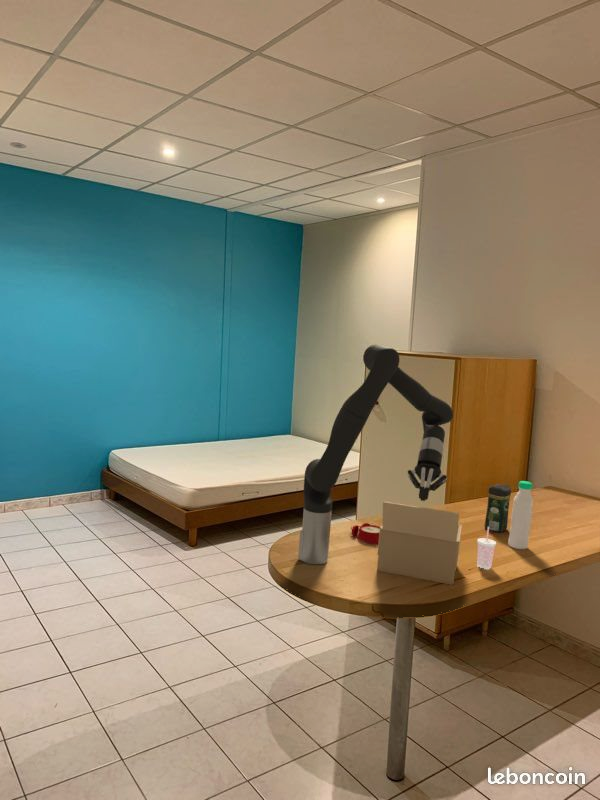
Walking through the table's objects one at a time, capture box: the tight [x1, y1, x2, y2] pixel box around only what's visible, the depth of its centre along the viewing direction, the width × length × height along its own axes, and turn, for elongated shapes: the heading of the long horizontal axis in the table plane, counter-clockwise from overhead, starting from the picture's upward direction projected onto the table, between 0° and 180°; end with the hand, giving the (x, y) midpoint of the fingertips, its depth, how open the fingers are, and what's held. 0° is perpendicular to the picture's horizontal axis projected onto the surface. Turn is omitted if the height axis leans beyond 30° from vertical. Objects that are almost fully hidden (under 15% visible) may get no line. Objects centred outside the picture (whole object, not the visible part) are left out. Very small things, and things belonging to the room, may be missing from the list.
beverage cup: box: [476, 527, 497, 570], centre depth 207 cm, size 6×6×14 cm
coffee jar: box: [484, 483, 512, 533], centre depth 249 cm, size 10×8×19 cm
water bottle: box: [507, 480, 534, 550], centre depth 229 cm, size 7×7×25 cm
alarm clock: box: [350, 522, 381, 545], centre depth 227 cm, size 10×6×15 cm
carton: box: [376, 523, 463, 586], centre depth 201 cm, size 25×18×14 cm
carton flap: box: [381, 501, 460, 542], centre depth 189 cm, size 23×11×1 cm
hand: (422, 499), depth 191 cm, fingers closed
